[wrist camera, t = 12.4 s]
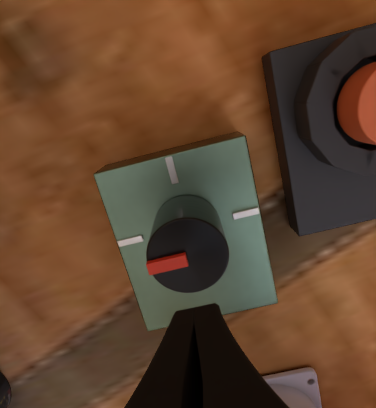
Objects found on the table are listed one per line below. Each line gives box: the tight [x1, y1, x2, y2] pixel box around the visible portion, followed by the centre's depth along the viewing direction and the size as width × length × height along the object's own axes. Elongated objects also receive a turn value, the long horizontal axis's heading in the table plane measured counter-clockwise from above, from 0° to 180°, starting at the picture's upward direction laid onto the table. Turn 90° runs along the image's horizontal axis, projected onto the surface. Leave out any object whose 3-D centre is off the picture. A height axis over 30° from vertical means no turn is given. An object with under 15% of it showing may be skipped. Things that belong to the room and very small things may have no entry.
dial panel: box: [94, 132, 278, 331], centre depth 18 cm, size 10×8×3 cm
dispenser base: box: [262, 23, 376, 236], centre depth 16 cm, size 10×8×4 cm
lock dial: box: [146, 195, 229, 293], centre depth 15 cm, size 4×4×4 cm
